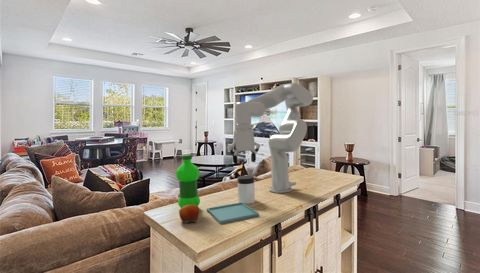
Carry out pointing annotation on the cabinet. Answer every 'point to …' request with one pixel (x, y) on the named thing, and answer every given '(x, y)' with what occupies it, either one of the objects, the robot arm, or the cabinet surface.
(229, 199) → the cabinet surface
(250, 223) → the cabinet surface
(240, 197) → the jar
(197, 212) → the fruit
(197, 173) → the plastic bottle
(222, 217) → the tray
